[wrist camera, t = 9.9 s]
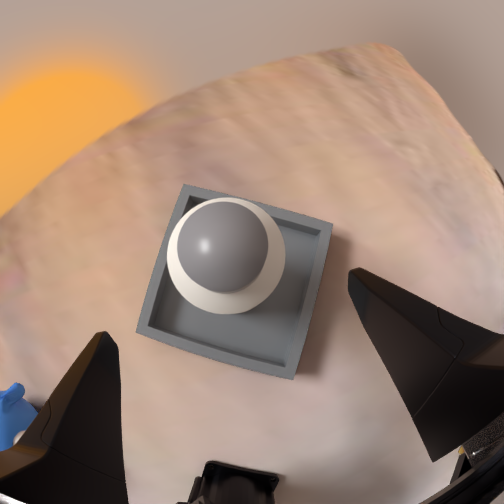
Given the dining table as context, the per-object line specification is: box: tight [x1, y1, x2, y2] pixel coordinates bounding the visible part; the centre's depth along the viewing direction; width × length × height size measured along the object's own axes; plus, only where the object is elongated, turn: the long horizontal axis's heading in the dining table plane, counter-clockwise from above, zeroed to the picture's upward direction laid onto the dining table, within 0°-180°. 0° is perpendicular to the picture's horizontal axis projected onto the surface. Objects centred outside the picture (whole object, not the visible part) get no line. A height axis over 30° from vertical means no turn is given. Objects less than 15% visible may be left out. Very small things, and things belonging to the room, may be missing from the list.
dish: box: [136, 184, 333, 380], centre depth 21 cm, size 12×12×2 cm
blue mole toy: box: [0, 383, 38, 451], centre depth 14 cm, size 12×12×8 cm
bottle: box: [167, 198, 286, 314], centre depth 16 cm, size 5×5×12 cm
